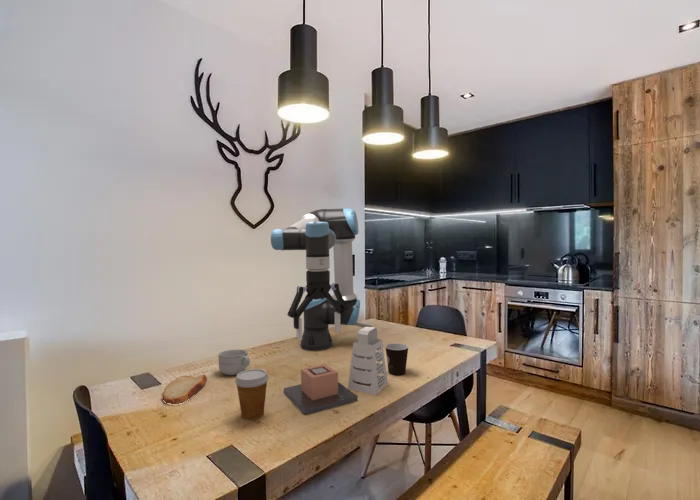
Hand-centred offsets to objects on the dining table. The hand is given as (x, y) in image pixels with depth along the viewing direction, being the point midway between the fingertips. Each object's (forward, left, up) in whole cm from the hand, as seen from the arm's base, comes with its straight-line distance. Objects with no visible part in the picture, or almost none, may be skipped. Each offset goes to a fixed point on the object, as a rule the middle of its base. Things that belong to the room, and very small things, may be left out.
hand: (319, 335), depth 118 cm
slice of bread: (-27, -37, -21) cm, 50 cm away
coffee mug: (-5, +35, -20) cm, 41 cm away
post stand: (0, 0, -20) cm, 20 cm away
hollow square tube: (0, 0, -18) cm, 18 cm away
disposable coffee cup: (+1, -22, -20) cm, 30 cm away
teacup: (-35, -19, -20) cm, 45 cm away
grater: (+1, +18, -20) cm, 27 cm away
